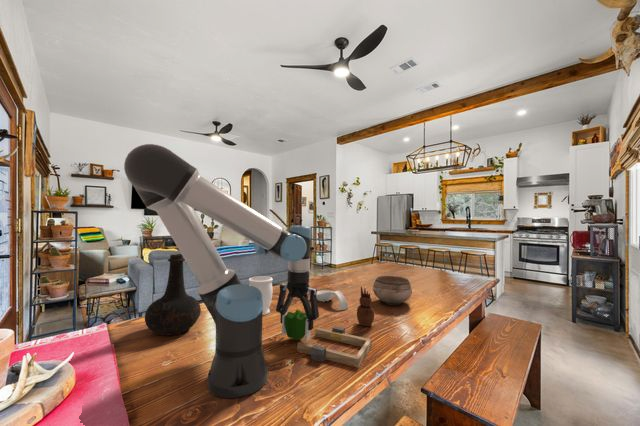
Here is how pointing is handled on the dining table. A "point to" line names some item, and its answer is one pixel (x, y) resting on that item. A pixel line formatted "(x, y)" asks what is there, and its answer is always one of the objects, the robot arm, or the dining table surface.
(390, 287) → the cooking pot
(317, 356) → the tan wooden u-shaped frame
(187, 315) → the glass bottle
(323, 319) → the dining table surface
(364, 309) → the wooden figurine
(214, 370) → the robot arm
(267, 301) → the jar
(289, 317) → the bell pepper
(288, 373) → the dining table surface
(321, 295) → the spoon rest
